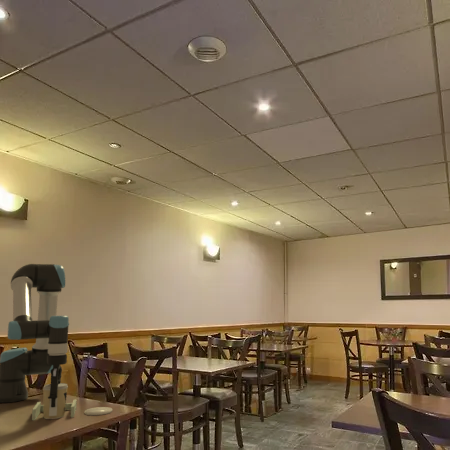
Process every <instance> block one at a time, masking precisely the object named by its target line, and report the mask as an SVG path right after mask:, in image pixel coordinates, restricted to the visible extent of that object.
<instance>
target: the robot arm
mask: <svg viewBox="0 0 450 450" xmlns="http://www.w3.org/2000/svg"><path fill="white" fill-rule="evenodd" d="M65 271H66V270H65V268H64V266H63V265H62V264H61V265H60V264H53V263H51V264H49V263H46V264H45V263H29V264H25V265H22V267H19V268H18V269H17V270H16V271H15V272H14V273H13V274H12V277H11V279H10V289H11V290H12V320H11V321H9V322H8V324H7V338H8V340H12V341H13V340H17V341H19V340H32V339H33V340H34V339H35V343H34V344H33V345H32V346H31V350H29V349H28V348H27V347H19V348H18V347H17V348H13V349H11V348H10V349H8V350H5V351H2V352H1V354H0V404H2V403H4V404H5V403H16V402H20V401H26V400H27V399H28V398H29V392H28V388H27V383H26V376H34V375H47V374H50V384H51V386H50V396H49V397H48V399H50V407H49V416H57V399H58V398H57V391H58V384H60V383H62V382H61V380H62V372H63V368H62V366H61V365H66V364H67V362H68V361H67V360H68V355H67V353H68V349H69V348H68V343H69V342H68V337H69V325H70V323H69V321H70V320H69V316H68V315H57V312H58V310H57V309H58V297H59V294H61V292H62V289H64V288H65V287H66V273H65ZM32 288H33V289H35V288H36V292H37V294H39V297H38V298H39V299H38V310H37V311H38V313H37V320H33V308H32Z"/></svg>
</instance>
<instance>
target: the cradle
mask: <svg viewBox="0 0 450 450" xmlns="http://www.w3.org/2000/svg"><path fill="white" fill-rule="evenodd" d="M77 401H78V400H77V399H73V400H72V402H66V405H65V411H70V418H74V417H75V414H76V412H75V411H77ZM31 412H32V413H31V421H36V420H37V418H38V416H39V415H40V413H43V404H42V402H41V401H37V402H36V404H35V405H34V406H33V408H32V411H31Z"/></svg>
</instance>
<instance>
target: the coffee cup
mask: <svg viewBox="0 0 450 450" xmlns="http://www.w3.org/2000/svg"><path fill="white" fill-rule="evenodd" d="M50 386H51V383H49V384H48V383H47V384H45V385H44V386H43V387H42V391H43V392H42V394H43V395H42V396H43V397H42V400H43V401H42V405H43V412H42V415H43V419H44V420H45V419H46V420H54V419H55V420H56V419H60V418H63V417H65V413H66V410H65V405H66V403H67V398H68V397H67V396H68V388H69V386H68V383H64V382H63V383H62V382H61V383H60V384H58V391H57V398H58V399H57V416H49V407H50V399H48V397H49V396H50Z"/></svg>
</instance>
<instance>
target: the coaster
mask: <svg viewBox="0 0 450 450" xmlns="http://www.w3.org/2000/svg"><path fill="white" fill-rule="evenodd" d="M111 413H113V408H112V407H107V406H98V407H91V408H88V409H85V410H84V415H87V416H105V415H108V414H111Z"/></svg>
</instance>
